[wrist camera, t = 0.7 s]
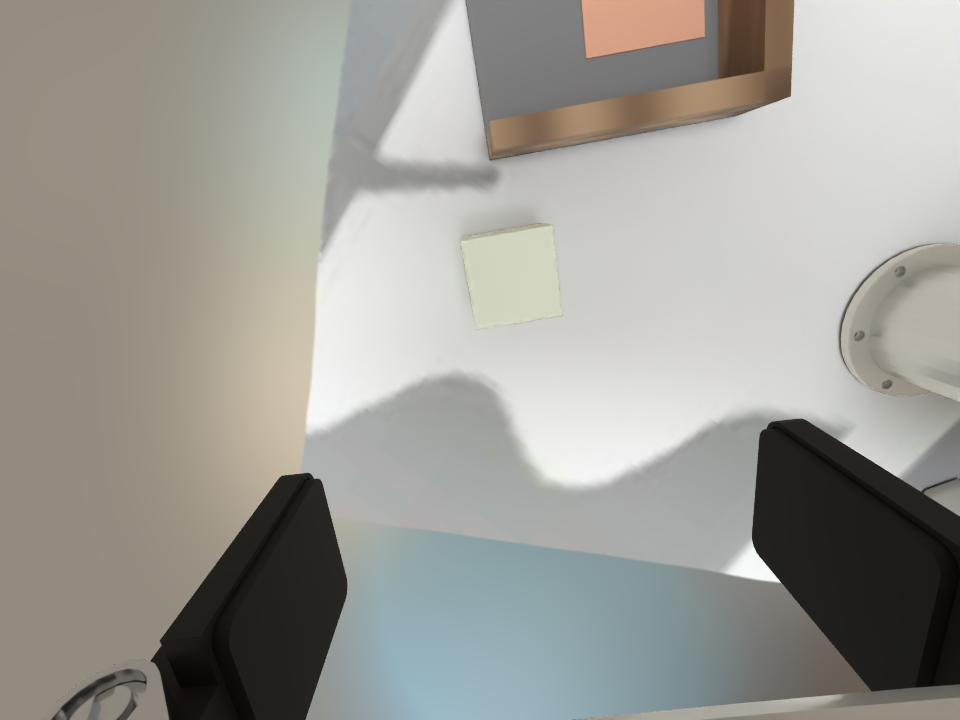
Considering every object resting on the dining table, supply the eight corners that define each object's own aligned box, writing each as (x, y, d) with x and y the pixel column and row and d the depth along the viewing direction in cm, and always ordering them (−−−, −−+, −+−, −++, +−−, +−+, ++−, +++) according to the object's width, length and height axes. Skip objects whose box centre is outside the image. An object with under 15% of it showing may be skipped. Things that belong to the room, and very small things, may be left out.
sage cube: (538, 223, 35) (552, 225, 30) (548, 302, 37) (562, 318, 31) (461, 236, 35) (460, 241, 30) (475, 314, 37) (476, 332, 32)
